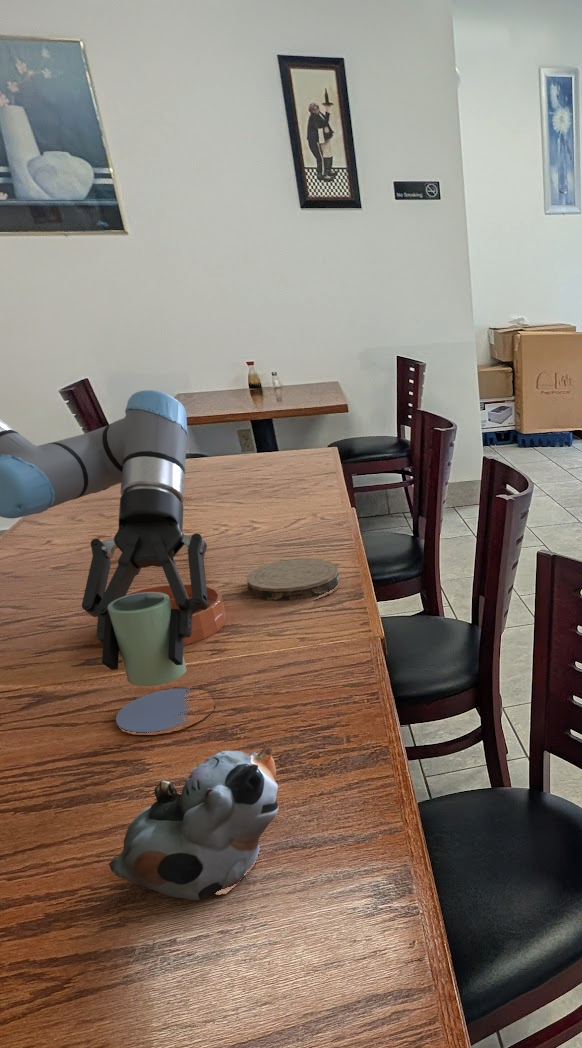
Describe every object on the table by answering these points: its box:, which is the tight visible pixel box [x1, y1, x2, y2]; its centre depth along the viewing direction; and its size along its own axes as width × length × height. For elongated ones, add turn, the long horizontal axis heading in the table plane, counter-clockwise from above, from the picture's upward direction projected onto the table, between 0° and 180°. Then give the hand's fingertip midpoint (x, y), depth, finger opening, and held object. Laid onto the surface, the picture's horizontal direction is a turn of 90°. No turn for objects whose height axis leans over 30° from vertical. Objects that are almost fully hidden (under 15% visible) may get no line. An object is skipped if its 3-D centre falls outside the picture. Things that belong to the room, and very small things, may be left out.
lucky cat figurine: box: [108, 745, 279, 901], centre depth 78 cm, size 15×12×14 cm
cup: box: [107, 592, 188, 687], centre depth 103 cm, size 7×7×10 cm
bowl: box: [95, 582, 228, 647], centre depth 131 cm, size 18×18×5 cm
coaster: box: [115, 687, 199, 733], centre depth 108 cm, size 12×12×1 cm
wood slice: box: [246, 558, 341, 602], centre depth 149 cm, size 16×16×3 cm
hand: (142, 663), depth 101 cm, fingers closed on cup, 7 cm apart
